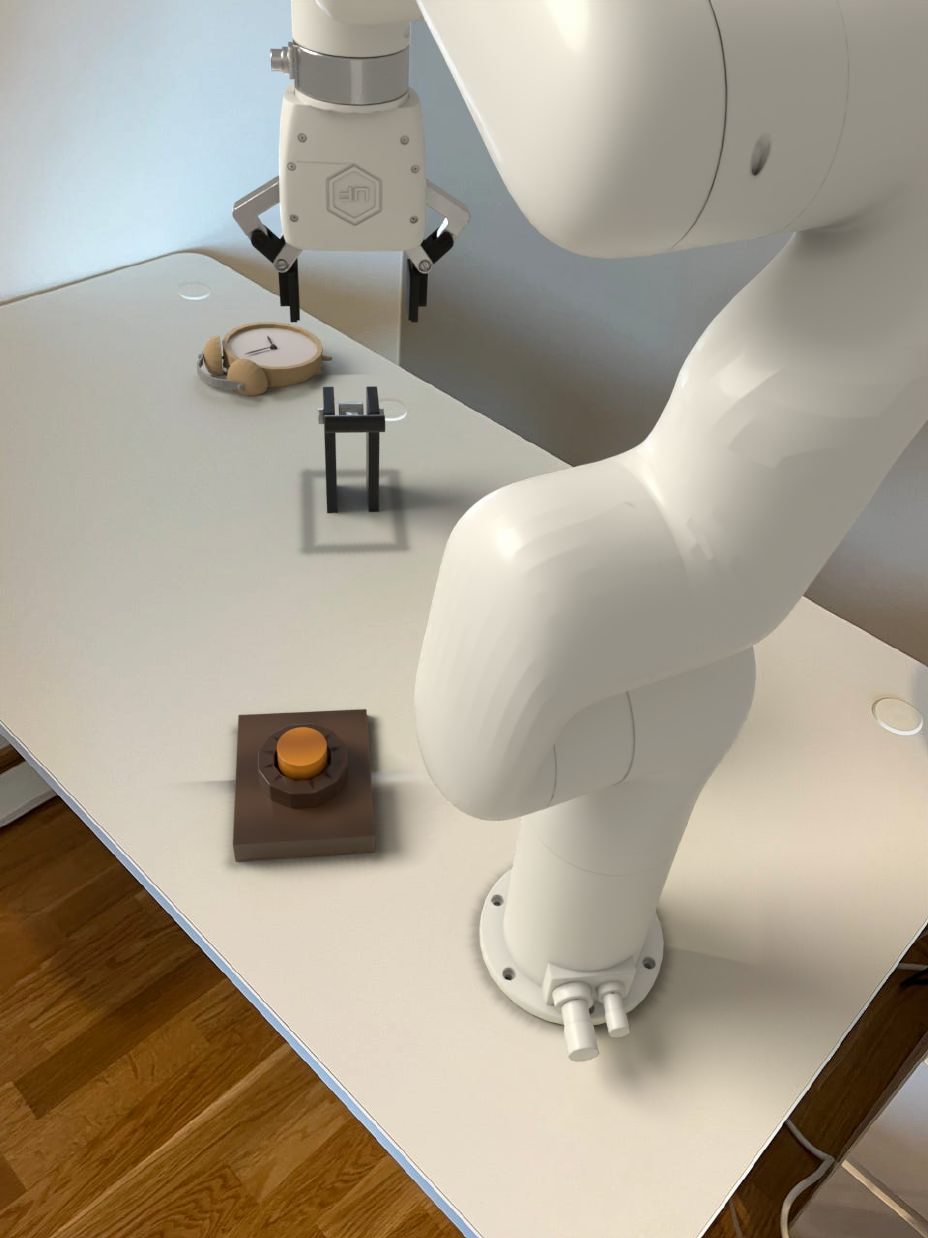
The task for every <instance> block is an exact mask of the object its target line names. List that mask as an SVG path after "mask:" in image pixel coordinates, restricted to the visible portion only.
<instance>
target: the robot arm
mask: <svg viewBox="0 0 928 1238" xmlns="http://www.w3.org/2000/svg"><path fill="white" fill-rule="evenodd" d="M290 13H291V14H290V15H291V34H292V35H291V36H292V37H291V38H292V41H288V43H287V46H281V48H269V49H270V50H269V51H270V52H269V53H270V69H271V72H279V73H280V72H281V73H282V74H283V75H289V80H294V81H293V82H291V83H290V84H288V85H287V86H286V87H285V90H284V94H283V98H282V102H281V111H280V119H279V120H280V121H279V141H278V175H276V176H275V177H273V178H272V179H269V180H268V181H267V182H265V183H263V184H262V185H260V186H259V187H257V188H255V189H254V190H253V191H250V192H249V193H247V194H246V195H244V196H242V197H241V198H239V199H238V200H236V201H235V202H234V203H233V205H232V218H233V220H234V221H235V223H236V224H237V225H238V226H239V228H240V230H241V231H242V232H243V233H244V234H245V236H247V238H248V239H249V240H250V243H251V245H252V247H253V248H254V249H255V250H256V251H258V252H259V253H260V254H261V255H262V256H263V257H265V258H266V259H267V260H268V261H269V262H270V263H271V264H272V265H273V268H274V270H275V271H277V273H278V288H279V305H280V307H289V321H290V323H298V321H301V305H300V304H301V301H300V284H299V282H300V281H299V280H300V279H299V260H298V259H299V256H300V255H301V254H302V252H303V251H310V252H311V251H312V252H371V253H372V252H376V253H377V252H384V253H386V252H404V253H405V254H406V255H407V257H408V258H406V270H405V271H406V272H405V273H406V274H405V309H406V315H407V320H408V322H409V321H410V323H419V307H421V308H422V307H423V308H426V307H427V305H428V304H427V303H428V286H429V285H428V283H429V281H428V280H429V273H430V272H432V271H433V269H434V265H435V264H436V263H437V262H438V261H439V260H441V258H443V257H444V256H445V255H446V254H447V253H448V252H449V251H450V250H452V248H453V247H454V245H455V241H456V240H457V239H458V238H459V237H460V236H461V234H462V233H463V231H464V230H465V229H466V227H467V225H468V224H469V223H470V221H471V219H472V217H471V212H470V209H469V207H468V205H467V204H465V203H464V202H463V201H461V200H459V199H458V198H457V197H455V196H453V195H452V194H450V193H449V192H447V191H445V190H444V189H443V188H441V187H440V186H438V185H437V184H435V183H434V182H432V181H431V180H429V179H428V178H427V159H426V154H427V153H426V138H425V137H426V135H425V127H424V126H425V125H424V116H423V109H422V104H421V99H420V97H419V95H418V93H417V91H416V90H415V89H414V88H412V87H411V86H410V56H411V54H410V53H411V44H410V43H411V23H413V22H420V21H421V22H422V21H424V22H425V23H426V25H427V27H428V29H429V31H430V33H431V35H432V37H433V39H434V41H435V43H436V46H437V48H438V49H439V51H440V53H441V55H442V57H443V59H444V61H445V63H446V65H447V68H448V70H449V72H450V74H451V76H452V78H453V80H454V83H456V86H457V88H458V90H459V93H460V94H461V96H462V99H463V100H464V102H465V105H466V108H467V109H468V112H469V113H470V116H471V118H472V119H473V122H474V124H475V126H476V128H477V130H478V132H479V135H480V136H481V139H482V141H483V144H484V145H485V147H486V149H487V152H488V153H489V156H490V158H491V160H492V162H493V164H494V166H495V168H496V170H497V172H498V174H499V176H500V178H501V180H502V181H503V183H504V186H505V187H506V189H507V191H508V193H509V195H510V196H511V198H512V199H513V200H514V202H515V204H516V205H517V207H518V208H519V210H520V211H521V213H522V214H523V216H524V217H525V218H526V220H527V221H528V222H529V223H530V224H531V225H532V226H533V227H534V229H536V230H537V232H538V233H540V235H542V236H543V237H545V238H546V239H547V240H549V241H550V242H552V244H555V245H557V246H558V247H559V248H562V249H565V250H566V251H568V252H571V253H573V254H575V255H580V256H584V257H587V258H594V259H595V258H596V259H626V258H628V259H630V258H641V257H649V256H656V255H659V254H666V253H673V252H678V251H683V250H691V249H697V248H703V247H708V246H715V245H720V244H721V245H722V244H728V243H733V242H734V243H735V242H741V241H747V240H754V239H760V238H767V237H772V236H776V235H782V234H788V233H792V235H791V237H790V238H789V240H788V241H787V243H786V244H785V245H784V247H782V249H780V251H779V252H778V253H777V254H776V255H775V256H774V258H773V259H771V261H770V262H769V263H768V264H766V266H764V267H763V269H762V270H760V271H759V273H757V274H756V276H755V277H753V278H752V279H751V280H750V281H749V282H748V283H746V285H745V286H744V287H743V288H741V290H739V291H738V292H737V293H736V294H735V295H734V296H733V297H732V299H730V301H729V302H728V303H727V304H726V305H725V306H724V307H723V309H721V310H720V311H719V313H718V314H716V316H715V317H714V318H713V320H712V321H711V322H710V323H709V324H708V325H707V327H706V328H705V330H704V331H703V332H702V334H701V335H700V336H699V338H698V339H697V341H696V343H695V344H694V346H693V347H692V349H691V350H690V352H689V354H688V355H687V357H686V359H685V360H684V362H683V364H682V366H681V368H680V370H679V372H678V375H677V378H676V381H675V383H674V386H673V389H672V391H671V394H670V397H669V399H668V401H667V403H666V405H665V407H664V409H663V411H662V413H661V415H660V417H659V418H658V420H657V422H656V424H655V425H654V427H653V429H652V430H651V432H650V433H649V434H648V436H647V437H646V438H645V439H644V440H643V441H642V442H641V443H639V444H638V445H636V446H635V447H633V448H630V449H629V450H626V451H624V452H621V453H619V454H616V455H614V456H611V457H607V458H605V459H601V460H598V461H594V462H589V463H584V464H581V465H577V466H573V467H570V468H565V469H560V470H557V471H553V472H548V473H544V474H541V475H536V476H532V477H528V478H524V479H522V480H518V481H515V482H512V483H509V484H507V485H503V486H502V487H499V488H497V489H495V490H493V491H492V492H490V493H488V494H486V495H485V496H483V497H482V498H480V499H479V500H478V501H477V502H475V503H474V504H473V505H471V507H469V508H468V509H467V510H466V512H465V513H463V515H462V516H461V517H460V518H459V520H458V521H457V523H456V524H455V525H454V527H453V529H452V531H451V533H450V535H449V537H448V539H447V541H446V545H445V547H444V552H443V555H442V558H441V562H440V566H439V571H438V574H437V579H436V584H435V588H434V593H433V597H432V600H431V601H432V602H431V606H430V610H429V615H428V619H427V624H426V628H425V633H424V637H423V641H422V646H421V650H420V655H419V660H418V665H417V671H416V676H415V682H414V683H415V684H414V694H413V713H414V715H413V716H414V726H415V735H416V740H417V741H416V742H417V745H418V750H419V753H420V756H421V760H422V763H423V765H424V767H425V769H426V772H427V774H428V777H429V778H430V780H431V781H432V783H433V785H434V786H435V787H436V789H437V790H438V791H439V793H440V794H441V795H442V797H444V798H445V800H446V801H447V802H448V803H450V804H451V805H452V806H453V807H454V808H455V809H457V810H459V811H460V812H462V813H464V814H465V815H467V816H468V817H469V816H470V817H472V818H474V819H478V820H481V821H487V822H504V821H509V820H510V821H511V820H514V819H517V818H520V821H519V827H518V833H517V837H516V838H517V839H516V844H515V850H514V855H513V862H512V867H511V868H510V869H508V871H506V872H505V873H504V874H502V875H501V876H500V878H499V879H498V880H497V881H496V882H495V883H494V885H492V887H491V889H490V891H489V892H488V894H487V896H486V897H485V899H484V900H485V901H484V904H483V907H482V911H481V914H480V921H479V930H478V931H479V932H478V933H479V946H480V951H481V954H482V959H483V962H484V964H485V966H486V968H487V970H488V973H489V975H490V977H491V978H492V979H493V981H494V982H495V984H496V985H497V987H498V988H499V990H500V991H501V992H502V993H503V994H504V995H506V997H507V998H509V999H510V1001H512V1002H513V1003H514V1004H515V1005H517V1006H518V1007H520V1008H521V1009H522V1010H524V1011H526V1012H527V1013H528V1014H530V1015H533V1016H535V1017H537V1018H539V1019H542V1020H544V1021H547V1022H550V1023H554V1024H558V1025H562V1026H564V1028H563V1035H564V1041H565V1046H566V1051H567V1057H568V1059H569V1060H570V1061H571V1062H576V1063H579V1062H580V1063H581V1062H588V1061H591V1060H593V1059H595V1058H597V1057H598V1056H599V1055H600V1051H599V1045H598V1040H597V1035H596V1031H595V1026H597V1025H603V1024H606V1027H607V1032H608V1036H609V1037H611V1038H618V1039H619V1038H623V1037H625V1036H628V1035H629V1034H630V1033H631V1029H630V1023H629V1019H628V1015H627V1014H628V1013H630V1012H631V1011H633V1010H634V1009H635V1008H636V1007H637V1006H638V1005H639V1004H640V1003H641V1002H643V1001H644V1000H645V999H646V998H647V996H648V994H649V993H650V991H651V990H652V989H653V987H654V985H655V982H656V980H657V978H658V975H659V973H660V970H661V966H662V962H663V958H664V945H665V943H664V942H665V941H664V935H663V929H662V925H661V921H660V919H659V916H658V914H657V911H656V910H657V907H658V904H659V901H660V900H661V899H660V898H661V896H662V893H663V890H664V887H665V886H666V885H665V884H666V882H667V879H668V877H669V874H670V871H671V869H672V865H673V863H674V861H675V857H676V854H677V851H678V849H679V846H680V844H681V842H682V839H683V837H684V834H685V832H686V829H687V826H688V824H689V820H690V819H691V816H692V813H693V810H694V808H695V805H696V803H697V801H698V799H699V797H700V795H701V793H702V791H703V789H704V787H705V786H706V784H707V783H708V781H709V780H710V779H711V777H712V776H713V774H714V772H715V771H716V770H717V768H719V765H720V764H722V761H723V760H724V758H725V757H726V756H727V754H728V753H729V752H730V750H731V749H732V747H733V746H734V744H735V742H736V741H737V738H738V737H739V735H740V734H741V732H742V729H743V728H744V725H745V723H746V721H747V719H748V717H749V713H750V711H751V708H752V705H753V700H754V697H755V690H756V681H757V680H756V679H757V664H756V655H755V649H754V646H755V645H757V644H759V643H760V642H761V641H763V640H765V639H766V638H767V637H768V636H770V635H771V634H772V633H773V632H774V631H775V630H776V629H777V628H778V627H779V626H780V625H782V623H783V622H784V620H785V619H786V618H787V617H788V615H790V613H791V612H792V611H793V610H794V609H795V607H796V606H797V604H798V603H799V602H800V601H801V599H802V597H804V595H805V593H806V592H807V590H808V589H809V588H810V587H811V584H812V583H813V582H814V580H816V578H817V576H818V575H819V573H820V572H821V571H822V569H823V568H824V566H825V565H826V564H827V562H828V561H829V560H830V558H831V556H832V555H834V553H835V551H836V550H837V548H838V547H839V546H840V545H841V543H842V541H843V540H844V538H845V537H846V535H847V534H848V533H849V531H850V530H851V529H852V527H853V526H854V524H855V523H856V522H857V520H858V519H859V517H860V516H861V515H862V513H863V512H864V510H865V509H866V508H867V506H868V505H869V503H870V502H871V500H872V498H873V497H874V495H875V494H876V492H877V490H878V489H879V487H880V486H881V484H882V482H883V481H884V480H885V478H886V476H887V475H888V473H889V472H890V471H891V469H892V467H893V466H894V465H895V464H896V462H897V460H898V459H899V458H900V456H901V455H902V453H903V452H904V451H905V449H906V448H907V447H908V445H909V444H910V443H911V442H912V440H913V439H914V438H915V436H916V435H917V434H918V433H919V432H920V430H921V429H922V428H923V426H924V425H925V424H926V422H928V0H290ZM277 204H279V213H280V225H281V231H282V233H281V234H280V236H278V235H277V234H276V233H274V232H273V231H272V230H271V229H270V228H269V227H267V225H266V224H264V223H263V222H262V221H261V218H260V217H259V216H260V215H261V214H263V213H265V212H266V211H268V210H270V209H271V208H273V207H274V206H276V205H277ZM427 207H429V208H430V209H432V210H434V211H435V212H437V213H438V214H439V215H441V216H442V217H444V220H443V221H442V223H441V225H440V226H438V227H437V228H436V229H435V230H434V231H433V232H432V233H431V234H429V236H427V237H426V238H425V235H426V234H425V233H426V223H427V222H426V221H427ZM506 978H507V979H506ZM508 978H509V979H508Z"/></svg>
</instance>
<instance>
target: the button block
mask: <svg viewBox="0 0 928 1238" xmlns="http://www.w3.org/2000/svg"><path fill="white" fill-rule="evenodd" d="M237 716H238V717H237V718H238V719H237V735H236V736H237V737H236V738H237V739H236V759H235V780H234V781H235V783H234V803H233V804H234V805H233V807H234V808H233V827H232V828H233V829H232V849H233V856H234V861H235V862H251V861H264V860H265V861H266V860H282V859H296V858H312V857H314V858H315V857H328V856H329V857H330V856H331V857H332V856H344V855H345V856H346V855H361V854H362V855H363V854H375V852H376V829H375V816H374V814H375V813H374V799H373V785H372V771H371V753H370V741H369V724H368V711H367V709H366V708H362V709H360V708H359V709H339V710H338V709H337V710H336V709H335V710H315V711H292V712H291V711H290V712H273V713H272V712H269V713H250V714H249V713H247V714H238V715H237ZM301 727H306V728H311V729H314V730H317V731H318V732H320V733H321V734H322V735H323V736H324V738H325V740H326V743H327V765H326V767H325V769H324V770H323V772H322V773H321V774H319V775H318V776H316V777H314V778H312V779H308V780H294V779H291V778H289V777H287V776H286V775H284V774H283V773H282V772H281V770H280V768H279V765H278V755H277V744H278V741H279V739H280V738H281V737H282V735H284V734H285V733H286V732H288V731H289V730H292V729H295V728H301Z"/></svg>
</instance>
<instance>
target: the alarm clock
mask: <svg viewBox="0 0 928 1238" xmlns="http://www.w3.org/2000/svg"><path fill="white" fill-rule="evenodd" d="M323 350H324V347H323V344H322V341H321V340H320V339H319V338H318V336H317V335H316V334H314V333H313V332H311V331H309V330H307V329H306V328H304V327H300V326H297V325H294V324H291V323H284V322H277V321H258V322H251V323H245V324H242V325H239V326H237V327H234V328H232V329H231V330H229V331H228V332H227V333H225V335H224V337H223V339H222V342H221V337H220V335H213V336H211V337H209V338H208V339H207V340H206V342H205V344H204V347H203V351H201V353H198V355H197V358H198V360H197V362H196V374H197V376H198V378H199V379H200V380H201V381H202V382H203V383H204V384H205V383H206V384H207V385H209V386H212V387H215V388H221V389H228V390H229V389H231V390H232V391H233V392H235V393H237V394H239V395H244V396H252V397H253V396H254V397H255V396H260V395H262V394H264V393H266V392H267V390H268V388H281V387H283V388H284V387H290V386H292V385H296V384H301V383H304V382H305V381H306V380H308V379H311V378H313V377H314V376H322V374H323V373H322V372H323V368H322V365H323V362H332V361H333V357H332V356H330V355H323ZM203 366H205V370H206V371H207V372H208V373H206V372H204V370H202V369H201V368H202V367H203ZM223 373H224V375H225V376H226V379H222V378H218V377H217V376H222V377H223ZM214 376H215V377H214Z"/></svg>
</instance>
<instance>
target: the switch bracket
mask: <svg viewBox="0 0 928 1238" xmlns="http://www.w3.org/2000/svg"><path fill="white" fill-rule="evenodd" d="M379 401H380V400H379V391H378V386H376V385H374V386H369V385H368V386H366V388H365V405H366V406H365V415H385V409H384V408H383V407H380V403H379ZM322 404H323V405H322V406H323V408H317V419H318V425H323V436H324V437H323V438H324V439H323V441H324V465H325V466H324V468H325V470H324V471H325V499H326V514H337V513H338V482H337V481H338V479H337V439H336V437H337V436H336V434H337V433H325V425H324V416H325V415H336V406H335V404H336V403H335V387H334V386H322ZM380 433H381V432H365V441H366V442H365V470H366V471H365V481H366V482H365V485H366V486H365V487H366V498H367V511H368V513H379V512H380V435H381V434H380Z"/></svg>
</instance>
